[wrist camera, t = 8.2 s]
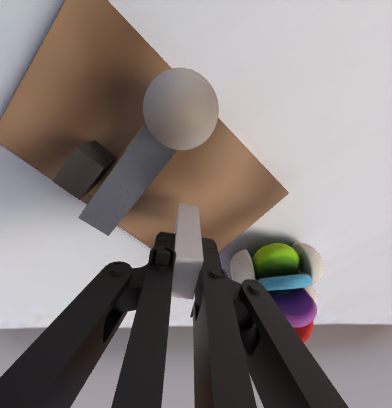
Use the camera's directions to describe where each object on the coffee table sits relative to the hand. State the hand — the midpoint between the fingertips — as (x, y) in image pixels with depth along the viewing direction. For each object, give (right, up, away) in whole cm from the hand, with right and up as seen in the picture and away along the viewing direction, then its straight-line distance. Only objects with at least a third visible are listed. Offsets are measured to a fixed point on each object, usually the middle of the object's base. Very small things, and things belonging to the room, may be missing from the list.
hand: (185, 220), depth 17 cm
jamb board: (-3, +5, +1) cm, 5 cm away
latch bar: (-4, +4, 0) cm, 5 cm away
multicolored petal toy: (+9, -6, +6) cm, 12 cm away
